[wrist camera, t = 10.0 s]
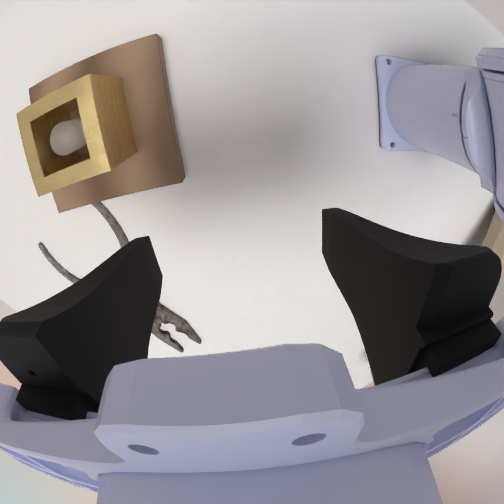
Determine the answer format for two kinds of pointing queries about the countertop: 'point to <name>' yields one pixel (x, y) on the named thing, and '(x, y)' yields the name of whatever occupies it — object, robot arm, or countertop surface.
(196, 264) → the countertop surface
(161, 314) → the pliers
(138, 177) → the post board
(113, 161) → the collar
